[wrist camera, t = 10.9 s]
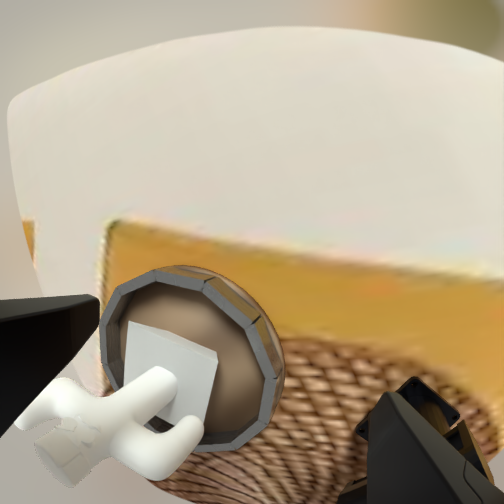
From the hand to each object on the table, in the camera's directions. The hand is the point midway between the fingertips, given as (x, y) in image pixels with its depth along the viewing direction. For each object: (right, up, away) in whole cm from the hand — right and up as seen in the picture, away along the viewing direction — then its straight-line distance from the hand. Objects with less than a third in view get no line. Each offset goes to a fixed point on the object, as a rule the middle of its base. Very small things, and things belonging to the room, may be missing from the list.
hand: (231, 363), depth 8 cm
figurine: (-5, -6, +16) cm, 17 cm away
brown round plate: (-5, -6, +16) cm, 18 cm away
